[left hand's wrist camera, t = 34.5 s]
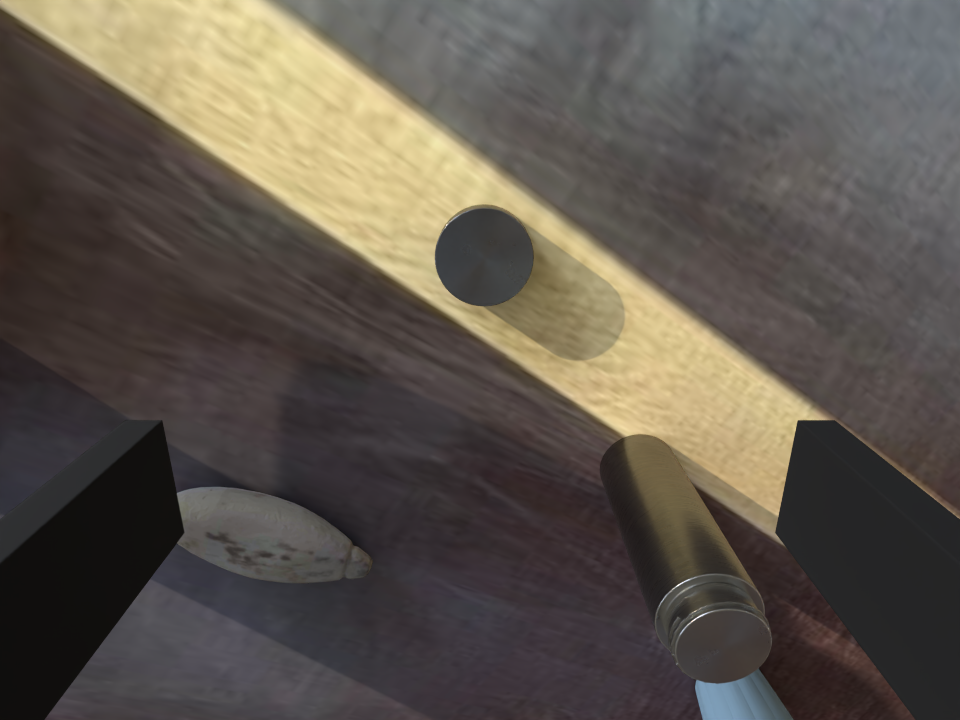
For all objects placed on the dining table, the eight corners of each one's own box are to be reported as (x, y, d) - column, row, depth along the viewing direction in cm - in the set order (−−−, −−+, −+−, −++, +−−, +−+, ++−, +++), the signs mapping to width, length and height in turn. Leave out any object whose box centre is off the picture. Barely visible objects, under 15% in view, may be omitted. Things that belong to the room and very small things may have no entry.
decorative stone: (364, 584, 46) (356, 617, 43) (162, 529, 45) (137, 559, 42) (386, 520, 45) (379, 550, 41) (175, 460, 43) (150, 486, 40)
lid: (432, 292, 39) (430, 300, 37) (442, 198, 37) (440, 201, 35) (523, 303, 39) (525, 311, 37) (537, 211, 37) (540, 214, 35)
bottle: (596, 439, 42) (662, 608, 27) (673, 429, 42) (783, 594, 27) (602, 504, 44) (667, 697, 29) (676, 494, 44) (781, 684, 29)
